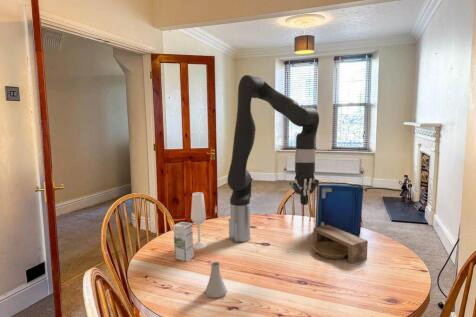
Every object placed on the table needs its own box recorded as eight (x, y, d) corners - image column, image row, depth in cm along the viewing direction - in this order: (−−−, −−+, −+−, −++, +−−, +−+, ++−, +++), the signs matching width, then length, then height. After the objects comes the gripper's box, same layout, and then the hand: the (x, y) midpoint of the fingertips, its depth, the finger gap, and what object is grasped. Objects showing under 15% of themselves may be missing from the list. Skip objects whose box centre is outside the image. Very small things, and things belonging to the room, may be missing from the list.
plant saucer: (344, 265, 120) (344, 258, 119) (308, 256, 128) (308, 250, 128) (353, 251, 132) (354, 245, 131) (320, 244, 140) (320, 238, 140)
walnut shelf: (351, 263, 120) (352, 244, 119) (313, 243, 140) (313, 227, 139) (366, 258, 124) (367, 240, 123) (327, 240, 144) (327, 224, 143)
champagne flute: (189, 247, 138) (187, 194, 135) (196, 241, 144) (194, 191, 141) (202, 249, 135) (200, 195, 132) (209, 243, 142) (208, 192, 139)
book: (359, 231, 155) (360, 182, 152) (363, 236, 148) (365, 185, 145) (314, 230, 157) (315, 181, 154) (317, 235, 150) (317, 184, 147)
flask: (205, 287, 105) (204, 259, 103) (226, 286, 105) (226, 258, 104) (204, 299, 97) (203, 269, 96) (227, 298, 98) (227, 268, 97)
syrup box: (194, 256, 129) (193, 222, 127) (186, 262, 123) (184, 227, 122) (182, 254, 131) (181, 220, 129) (174, 259, 126) (172, 225, 124)
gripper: (311, 158, 125) (310, 200, 127) (285, 160, 119) (284, 204, 121) (325, 160, 118) (323, 204, 120) (297, 162, 112) (296, 209, 114)
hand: (304, 204), depth 121 cm, fingers closed
